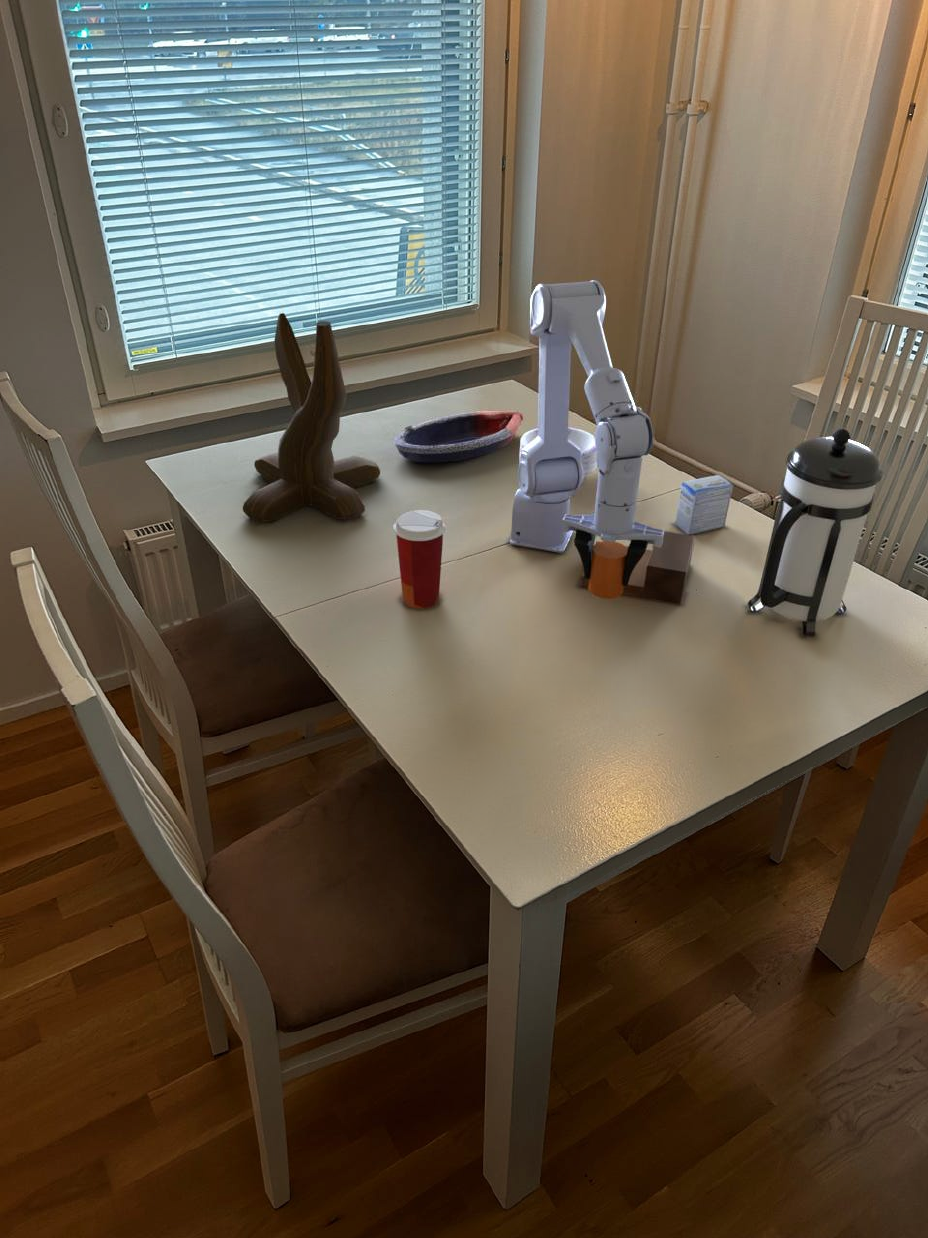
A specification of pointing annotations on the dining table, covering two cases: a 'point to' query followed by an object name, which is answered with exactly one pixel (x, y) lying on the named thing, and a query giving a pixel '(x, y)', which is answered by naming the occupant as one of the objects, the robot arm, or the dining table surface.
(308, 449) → the wooden stand
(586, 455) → the paper bowls
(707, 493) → the medicine box
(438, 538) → the paper cup
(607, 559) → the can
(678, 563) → the shelf riser
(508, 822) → the dining table surface
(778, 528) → the coffee press
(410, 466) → the dining table surface
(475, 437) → the dish
